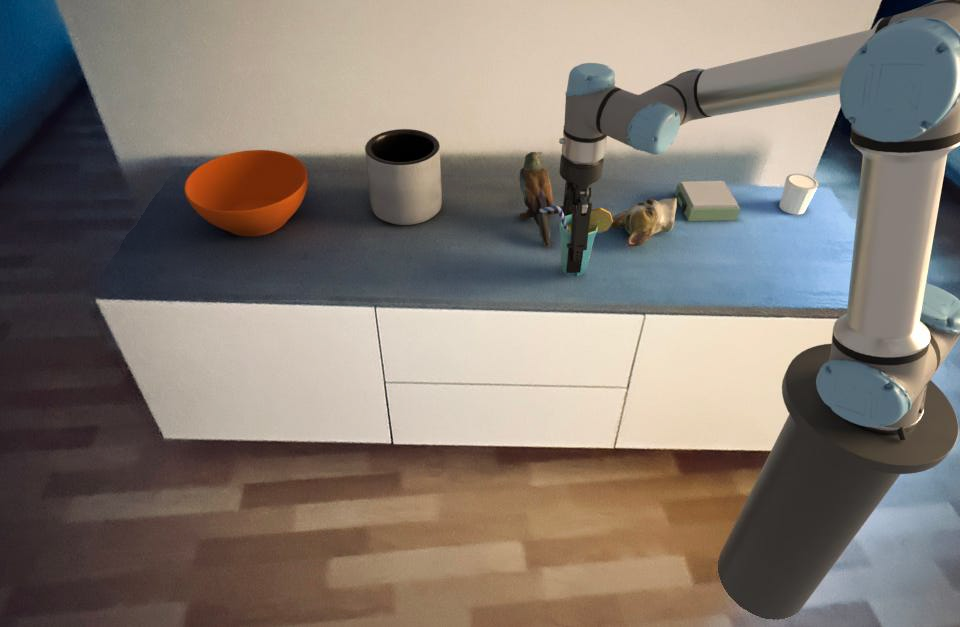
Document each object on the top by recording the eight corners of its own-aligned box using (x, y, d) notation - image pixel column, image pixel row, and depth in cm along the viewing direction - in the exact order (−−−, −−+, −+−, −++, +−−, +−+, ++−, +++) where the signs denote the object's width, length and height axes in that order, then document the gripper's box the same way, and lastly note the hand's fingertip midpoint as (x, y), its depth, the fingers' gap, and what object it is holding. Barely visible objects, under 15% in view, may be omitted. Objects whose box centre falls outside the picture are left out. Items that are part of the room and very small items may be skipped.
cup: (538, 282, 131) (543, 218, 121) (532, 259, 137) (536, 195, 127) (608, 278, 132) (619, 213, 122) (599, 254, 138) (608, 191, 128)
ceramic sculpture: (693, 204, 139) (631, 224, 135) (686, 238, 144) (626, 258, 140) (662, 179, 146) (602, 198, 142) (657, 212, 152) (599, 231, 148)
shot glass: (800, 199, 157) (810, 172, 152) (813, 215, 152) (824, 188, 147) (771, 199, 157) (781, 173, 152) (783, 216, 151) (793, 189, 147)
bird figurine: (575, 245, 141) (571, 147, 137) (528, 248, 140) (523, 150, 137) (561, 240, 154) (557, 150, 150) (518, 243, 153) (513, 153, 150)
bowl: (336, 221, 148) (330, 181, 142) (230, 268, 136) (218, 227, 129) (278, 176, 162) (270, 138, 155) (177, 215, 149) (163, 175, 143)
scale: (736, 220, 150) (741, 205, 148) (684, 221, 150) (688, 206, 147) (721, 193, 158) (725, 179, 156) (671, 194, 158) (675, 180, 155)
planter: (456, 209, 152) (456, 147, 142) (400, 237, 144) (394, 173, 134) (413, 181, 161) (409, 120, 150) (357, 206, 153) (349, 143, 142)
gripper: (553, 130, 125) (545, 233, 141) (569, 184, 111) (558, 292, 126) (593, 129, 126) (581, 232, 141) (614, 183, 111) (598, 291, 126)
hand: (570, 260), depth 133 cm, fingers closed on cup, 6 cm apart
